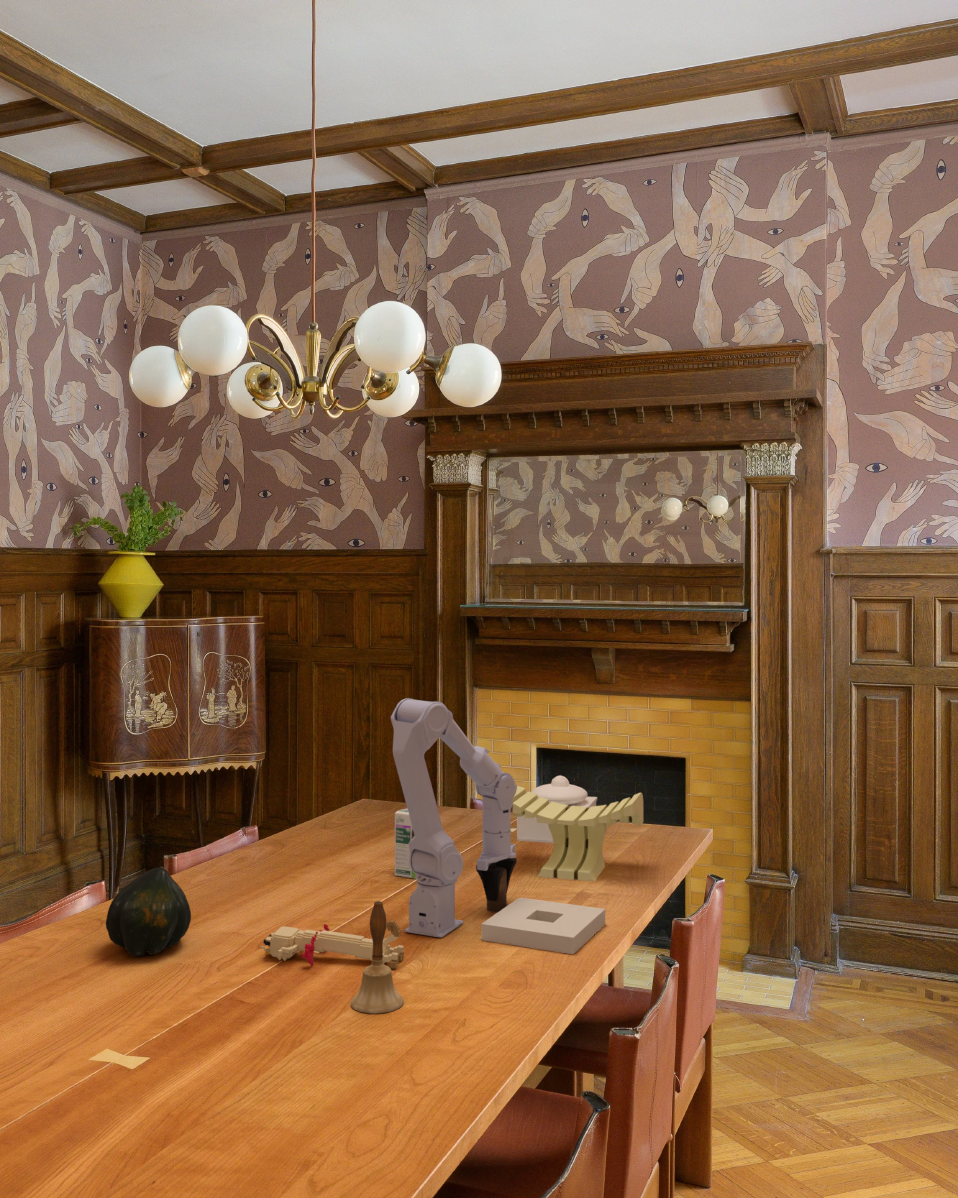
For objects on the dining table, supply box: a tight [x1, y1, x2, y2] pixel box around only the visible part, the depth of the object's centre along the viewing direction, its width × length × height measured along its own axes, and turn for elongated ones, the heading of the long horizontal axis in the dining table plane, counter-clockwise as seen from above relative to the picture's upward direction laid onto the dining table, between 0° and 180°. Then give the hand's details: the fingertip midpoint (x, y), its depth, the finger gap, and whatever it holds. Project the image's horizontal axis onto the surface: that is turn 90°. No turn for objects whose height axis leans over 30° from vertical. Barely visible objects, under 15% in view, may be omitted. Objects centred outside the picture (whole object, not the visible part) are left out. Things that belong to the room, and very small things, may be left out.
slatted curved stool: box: [512, 785, 644, 882], centre depth 240 cm, size 30×16×18 cm, turn 73°
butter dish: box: [516, 775, 598, 844], centre depth 274 cm, size 18×18×16 cm
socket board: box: [480, 897, 606, 955], centre depth 197 cm, size 18×18×3 cm
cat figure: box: [260, 919, 405, 970], centre depth 183 cm, size 10×9×25 cm
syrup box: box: [394, 808, 416, 880], centre depth 236 cm, size 6×6×14 cm
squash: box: [105, 866, 192, 958], centre depth 189 cm, size 14×15×15 cm
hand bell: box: [350, 900, 405, 1015], centre depth 163 cm, size 8×8×16 cm
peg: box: [486, 869, 508, 913], centre depth 211 cm, size 4×4×8 cm
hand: (496, 897), depth 211 cm, fingers closed on peg, 4 cm apart
